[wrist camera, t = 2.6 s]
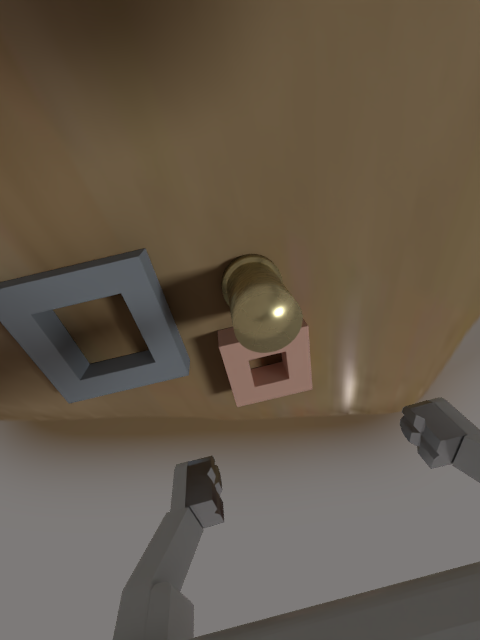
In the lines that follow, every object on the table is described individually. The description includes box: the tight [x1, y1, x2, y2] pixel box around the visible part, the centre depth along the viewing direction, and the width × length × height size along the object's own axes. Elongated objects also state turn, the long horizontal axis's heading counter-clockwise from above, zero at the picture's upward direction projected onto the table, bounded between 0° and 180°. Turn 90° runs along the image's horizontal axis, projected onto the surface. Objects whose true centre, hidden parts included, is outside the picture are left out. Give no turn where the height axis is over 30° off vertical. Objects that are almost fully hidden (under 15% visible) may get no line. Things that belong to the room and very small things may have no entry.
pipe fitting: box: [221, 254, 303, 353], centre depth 21 cm, size 6×6×8 cm
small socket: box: [218, 319, 312, 407], centre depth 28 cm, size 9×9×3 cm
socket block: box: [0, 248, 190, 403], centre depth 24 cm, size 13×13×2 cm
